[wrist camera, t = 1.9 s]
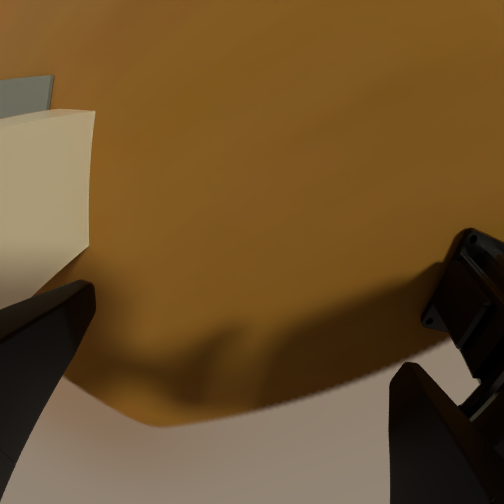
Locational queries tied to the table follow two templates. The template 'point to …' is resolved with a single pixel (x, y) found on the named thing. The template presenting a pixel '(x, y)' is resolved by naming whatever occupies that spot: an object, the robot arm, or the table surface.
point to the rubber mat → (25, 95)
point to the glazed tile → (42, 197)
